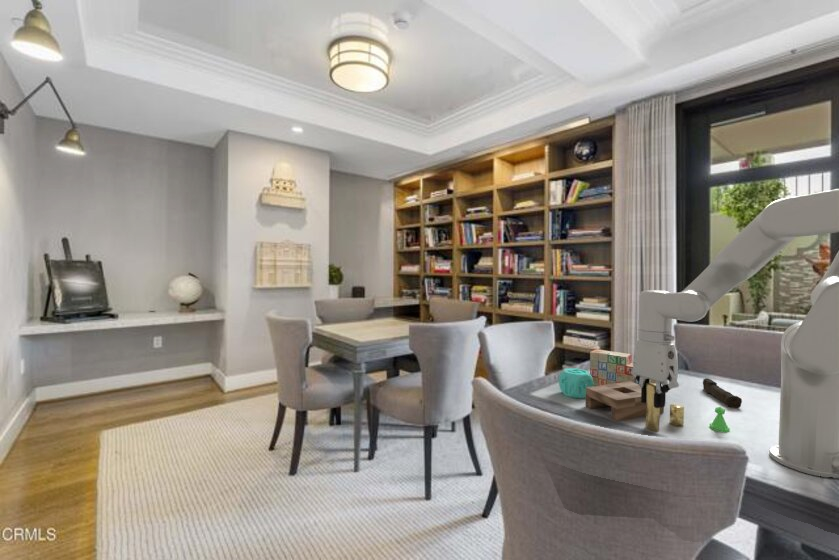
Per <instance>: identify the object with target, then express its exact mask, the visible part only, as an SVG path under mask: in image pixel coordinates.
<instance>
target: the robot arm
mask: <svg viewBox="0 0 839 560" xmlns="http://www.w3.org/2000/svg"><path fill="white" fill-rule="evenodd" d="M834 233H839V188H835V189H832V190H825V191H819V192H815V193H810V194H809V193H808V194H804V195H799V196H798V195H796V196H791V197H785V198H780V199H777V200H774V201H772V202H771V203H770V204H767V206H765V208H764V207H763V210H762V211H761V212H760V213H758V214H757V216H755V218H753V219H752V221H750V222H749V223H748V224H747V225H746V226H745V227H744V228H743V229H742V230H741V231H740V232H739V233H738V234H736V236H734V238H733V239H731V240H730V241H729V242H728V243H727V244H726V245H725V246H724V247H723V248H722V249H721V250H720V251H719V252H718V253H717V254H716V255H715V256H714V258H713V259H712V261H711V262H710V263H709V264H708V266H707V267H706V268H705V269H704V270H703V271H702V272H701V273H700V274H699V275H698V276H697V277H696V278H695V279H694V280H693V281H691V282H690V283H689V284H688V285H687V286H686V287H685V288H684V289H683V290H682V291H680V292H670V291H667V290H658V289H656V290H655V289H649V290H647V289H646V290H643V291H641V292H640V293H639V295H638V331H637V332H638V333H637V335H638V336H637V339H636V340H635V344H634V350H633V356H632V357H633V359H632V363H633V369H632V371H631V374H632V375H633V376H634V377H635V378H636V379H637V381H638V382H639V386H640V387H641V402H642V403H646V383H651V380H654V381H656V391H657V392H656V393H654V407H655V408H661V407H664V408H665V407H666V394H667V393H668V392H669V391H670V390H672V389H675V388H679V386H680V384H679V382H678V376H679V374H678V371H679V369H678V355H677V350H676V346H675V344H674V343H672V342H674V341H675V340H676V339H675V336H674V335H672V326H673V325H672V324H673V323H672V321H673V320H678V321H684V322H689V323H691V322H692V323H693V322H698V321H699V320H700V321H701V320H702V319H703V318H705V317H706V315H707V314H708V312H709V310H710V309H711V308H712V307H714V306H715V304H717V303H718V302H719V301H720V300H721V299H722V298H724V297H725V295H727V294H728V293H729V292H730V291H732V290H733V289H734V288H736V287H737V286H738V285H740V284H741V283H744V282H745V281H747V280H749V279H750V278H751V277H753V276H755V275H756V274H757V273H759V271H760V270H761V269H762V268H763V267H765V266H766V265H767V264H768V263H769V262H770V261H771V260H773V259H774V258H775V257H776V256H777V255H778V254H779V253H780V252H782V251H783V250H784V249H785V248H786V247H787V246H789V245H790V244H791V243H792V242H794V240H795V239H796V238H802V237H809V236H819V235H827V234H828V235H829V234H834ZM810 303H811V307H810V309H809V311H808V313H807V314H806V315H805V318H803V320H802V321H798V322H795V323H793V324H791V325H790V326H788V327H787V328H786V329H785V331H784V332H783V334H782V335H781V340H780V360H781V361H780V363H781V366H780V367H781V369H780V370H781V371H780V372H781V374H780V375H781V376H780V377H781V378H780V395H779V396H780V397H779V423H778V426H779V427H778V445H773V446H771V447H769V449H768V452H769V456H770V458H772V459H773V460H774V461H776V462H778V463H779V464H781V465H782V466H785V467H787V468H789V469H792V470H795V471H797V472H800V473H805V474H808V475H811V476H815V477H820V476H821V478H827V477H833V478H832V479H839V250H838V252H836V255H835V256H834V259H833V261H832V262H831V264H830V265H829V267H828V268H827V270H826V271H825V273H824V275H823V276H822V277H821V279H820V281H819V282H818V283H817V285H816V286H815V287H814V288H813V290H812V292H811V295H810Z"/></svg>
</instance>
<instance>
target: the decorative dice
mask: <svg viewBox="0 0 839 560" xmlns="http://www.w3.org/2000/svg"><path fill="white" fill-rule="evenodd" d="M558 386H559V389H560V390H561V392H562V393H563V395H565V396H566V397H568V396H569V398H571V399H572V398H573V399H586V387H592V386H595V385H594V382H593V379H592V377H591V375H590V371H587V370H586V369H585V370H584V369H582V368H576V367H575V368H565V369H564V370H562V372H561V373H560V375H559V377H558Z"/></svg>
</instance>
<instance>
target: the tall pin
mask: <svg viewBox="0 0 839 560" xmlns="http://www.w3.org/2000/svg"><path fill="white" fill-rule="evenodd" d="M656 392H657V391H656V383H646V416H645V427H646V428H645V429H646V430H648V431H652V432H659V431H660V417H661V416H660V415H661V414H660V408H655V407H654V393H656Z"/></svg>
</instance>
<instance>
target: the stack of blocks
mask: <svg viewBox="0 0 839 560" xmlns="http://www.w3.org/2000/svg"><path fill="white" fill-rule="evenodd" d="M589 353H590V354H589V358H590V360H589V374H590V375H591V377H592V379H593V382H594V386H597V385H598V386H600V385H607V384H615V383H622V382H633V383H636V384H639V382H638V381H637V379H636V378H635V377H634V376H633V375H632V374H631V371H632V369H633V362H632V353H625V352H619V351H611V350H610V351H609V350H604V349H598V348H597V349H596V348H595V349H594V350H592V351H590V352H589ZM651 383H656V381H654V380H651Z"/></svg>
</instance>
